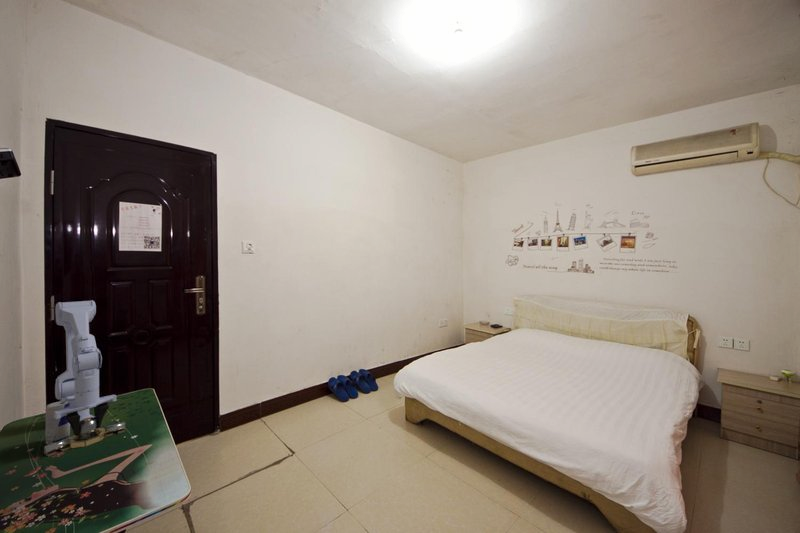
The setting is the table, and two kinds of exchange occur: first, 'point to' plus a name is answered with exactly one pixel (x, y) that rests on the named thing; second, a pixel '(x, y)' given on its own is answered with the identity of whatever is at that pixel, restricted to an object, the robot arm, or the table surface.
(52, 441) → the energy drink
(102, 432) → the collar
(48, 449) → the shaft
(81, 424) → the hub
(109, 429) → the shaft
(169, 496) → the table surface
